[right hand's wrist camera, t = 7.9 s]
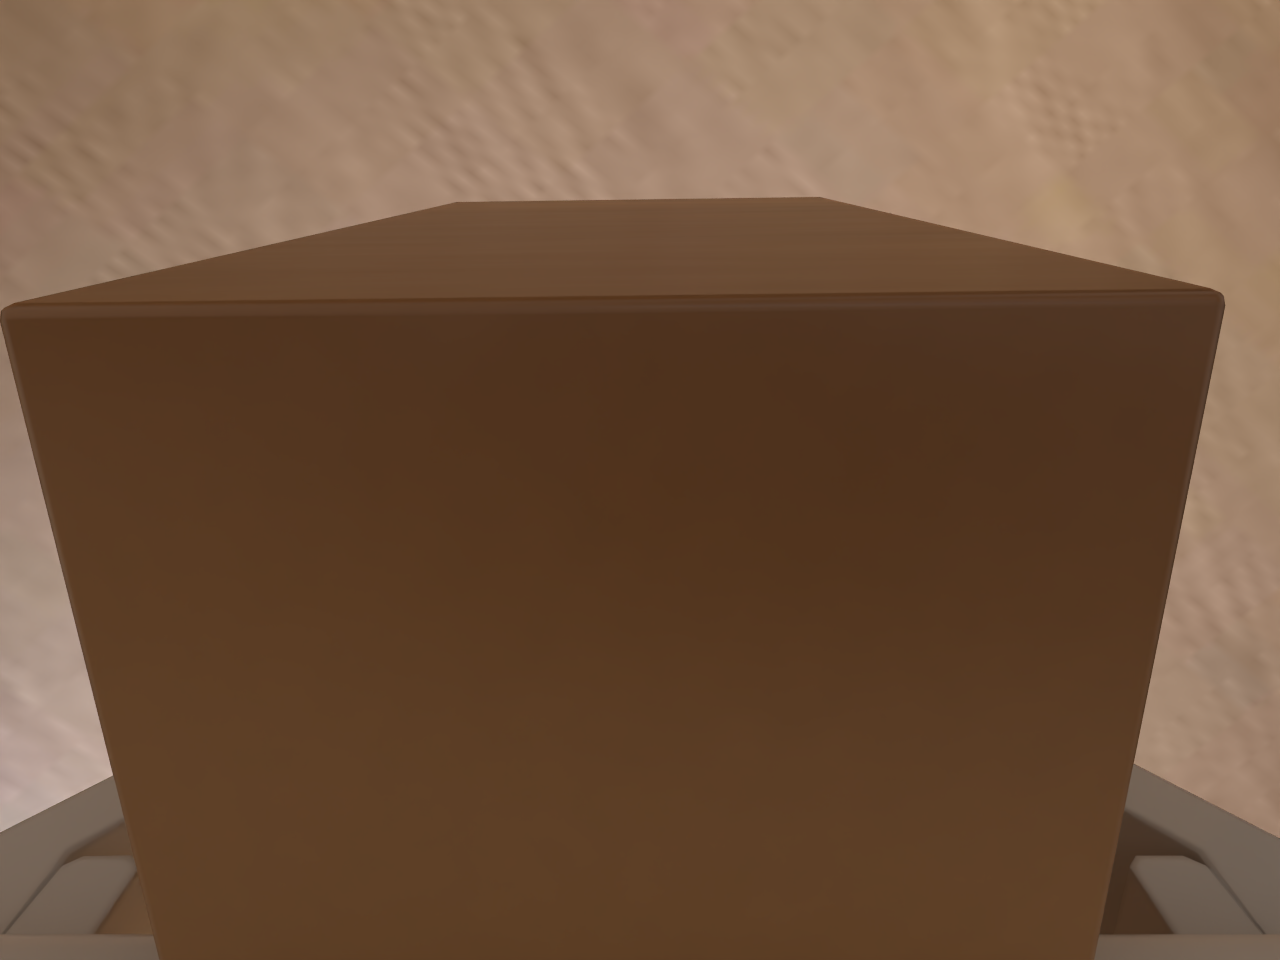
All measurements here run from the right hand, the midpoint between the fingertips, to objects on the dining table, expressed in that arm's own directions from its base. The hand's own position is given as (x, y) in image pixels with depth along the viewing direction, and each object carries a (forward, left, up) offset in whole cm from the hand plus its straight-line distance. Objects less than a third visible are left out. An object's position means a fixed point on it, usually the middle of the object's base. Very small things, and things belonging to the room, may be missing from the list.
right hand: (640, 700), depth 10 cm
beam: (+11, -18, -3) cm, 22 cm away
